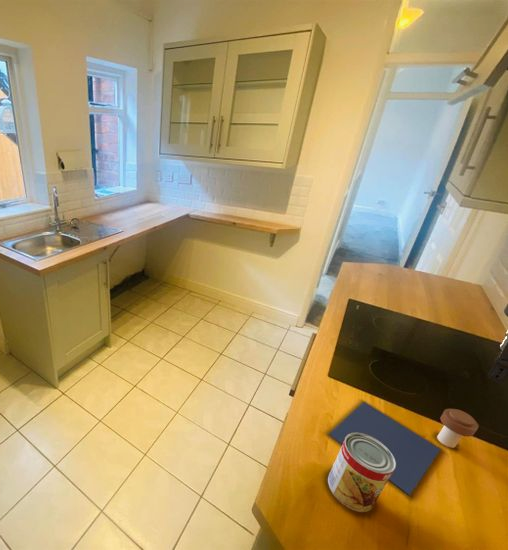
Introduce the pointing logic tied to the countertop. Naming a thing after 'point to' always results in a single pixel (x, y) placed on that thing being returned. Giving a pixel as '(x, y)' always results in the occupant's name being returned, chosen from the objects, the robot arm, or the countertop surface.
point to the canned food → (360, 471)
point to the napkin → (391, 444)
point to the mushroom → (456, 427)
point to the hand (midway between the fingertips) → (499, 371)
